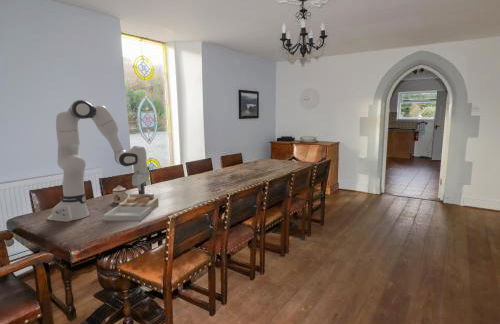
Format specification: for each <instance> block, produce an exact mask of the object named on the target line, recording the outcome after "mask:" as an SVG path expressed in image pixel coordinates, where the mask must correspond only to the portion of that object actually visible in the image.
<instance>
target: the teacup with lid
mask: <svg viewBox="0 0 500 324" xmlns="http://www.w3.org/2000/svg"><path fill="white" fill-rule="evenodd" d="M126 190H127V188H125V187H123V186H121V185H117V187H115V188H113V189H112V200H113V203H114V204H120V203H121V202H123V201H125V200H126V199H128V198H129V197H128V196H129V195H128V193H127V191H126Z"/></svg>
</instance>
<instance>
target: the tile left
mask: <svg viewBox="0 0 500 324" xmlns="http://www.w3.org/2000/svg"><path fill="white" fill-rule="evenodd" d="M129 197H130V196H129ZM129 197H127V202H136V201H137V200H138V199H137V197H130V198H129Z"/></svg>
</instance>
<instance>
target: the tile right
mask: <svg viewBox="0 0 500 324" xmlns="http://www.w3.org/2000/svg"><path fill="white" fill-rule="evenodd" d="M148 201H149V197H142V198H140V199H139V202H148Z"/></svg>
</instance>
